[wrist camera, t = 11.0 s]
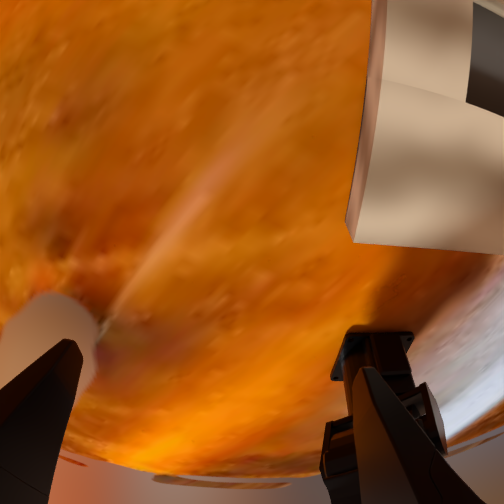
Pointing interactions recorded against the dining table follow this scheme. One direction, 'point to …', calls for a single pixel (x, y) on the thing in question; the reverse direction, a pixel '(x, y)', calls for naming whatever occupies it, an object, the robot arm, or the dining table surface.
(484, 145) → the trap board
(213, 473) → the dining table surface
